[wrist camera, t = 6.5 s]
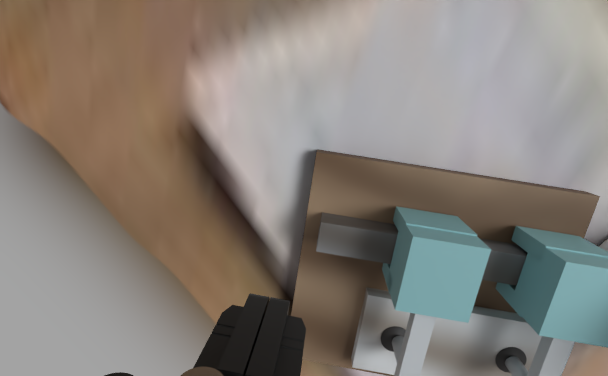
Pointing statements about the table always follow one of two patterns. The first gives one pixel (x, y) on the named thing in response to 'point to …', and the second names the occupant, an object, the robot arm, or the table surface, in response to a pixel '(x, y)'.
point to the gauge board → (415, 192)
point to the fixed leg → (558, 297)
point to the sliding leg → (431, 278)
